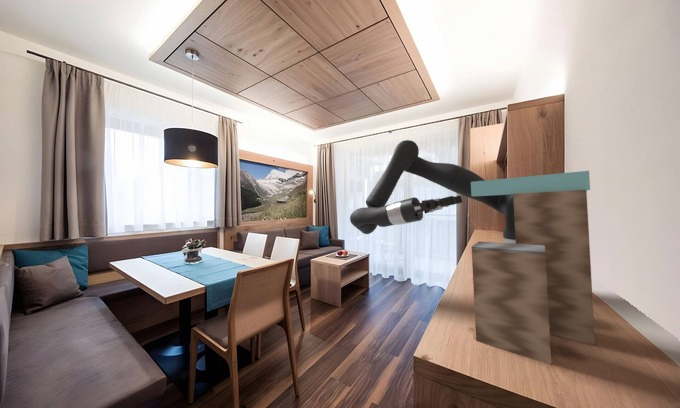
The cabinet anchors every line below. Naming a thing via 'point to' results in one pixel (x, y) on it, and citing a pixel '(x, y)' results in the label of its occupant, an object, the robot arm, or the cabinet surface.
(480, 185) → the batten
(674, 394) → the cabinet surface
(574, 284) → the stand
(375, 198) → the robot arm
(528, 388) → the cabinet surface
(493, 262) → the brown wooden block
